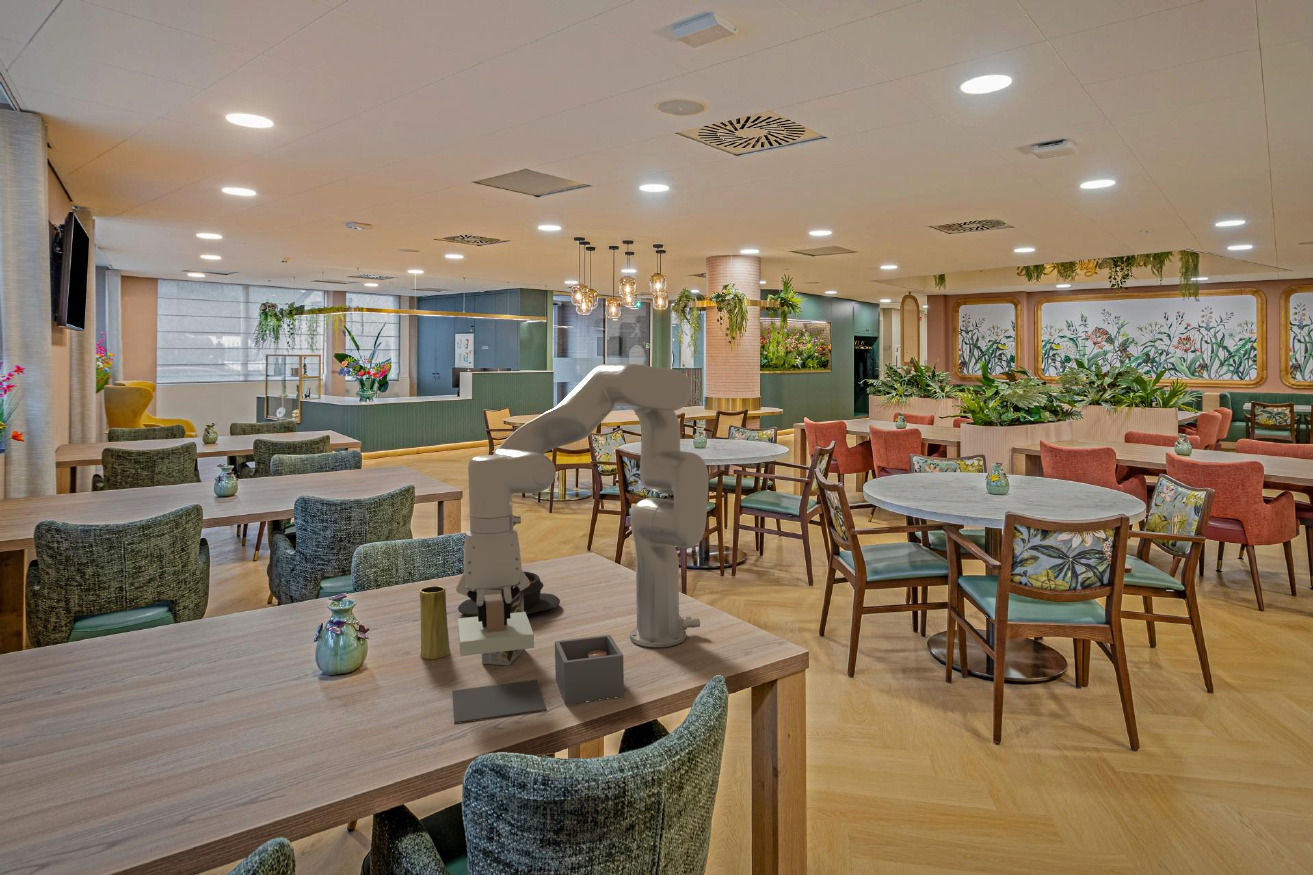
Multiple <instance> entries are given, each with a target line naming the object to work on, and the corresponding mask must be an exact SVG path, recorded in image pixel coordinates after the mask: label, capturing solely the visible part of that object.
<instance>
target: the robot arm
mask: <svg viewBox="0 0 1313 875" xmlns="http://www.w3.org/2000/svg"><path fill="white" fill-rule="evenodd" d="M691 395H692V385H691V382H690V379H689V377H687V375H686V374H685V373H683V371H680V370H678V369H672V368H667V367H666V368H665V367H659V366H658V367H656V366H650V365H643V364H637V363H636V364H635V363H605V364H603V363H602V364H600V365H598V366H596V367H594V368H593V369H592V370H590V372H589V373H588V374H587V375H585V377H584V378H583V379H582V380H581V381H580V382H579V383H578V384H577V385H576V386H575V387H574V388H573V389H572V390H571V391H570V392H569V393H568V394H567V395H566V396H565V397H564V398H563V399H562V400H561V401H560V402H559V403H558V404H557V405H556V406H554V407H553V408H552V409H550V410H547V411H545V412H543V413H542V414H540V415H539V416H537V417H535V418H534V419H532V420H530V421H528V422H526V423H525V424H523V425H522V426H520V427H519V428H517V429H516V430H514V431H513V432H512V433H511V434H510V435H509V436H508V437H507V438H506V439H505V440H504V441H503V442H502V443H501V444H500V445H499V446H498V447H497V448H496V449H495V451H494V452H493V453H492V454H487V455H479V456H474V457H473V458H471V459H470V460H469V462H468V466H467V467H468V469H467V470H468V471H467V472H468V473H467V474H468V500H469V501H468V502H469V530H468V531H466V533H465V536H464V544H463V572H462V575H461V576H460V577H461V578H460V579H459V581H458V583H457V585H456V587H455V591H456V593H458V594H460V595H463V596H465V597H468V598H469V599H471V600H473V601H474V602H475V603H476V604H477V605H478V616H477V617H478V622H481V621H482V625H483V627H486V626H487V624H486V604H485V600H484V589H486V588H498V587H503V593H504V596H503V599H502V600H503V603H504V625H507V619H510V603H511V602H512V599H513V598H514V597H515V596H516V595H517V594H518V593H519V592H520V591H521V590H523V589H525V588H527V587H528V586H529V585H530V582H529V580H528V579H527V577H526V575H525V574H524V572H523V571H524V570H523V569H522V557H521V554H522V553H521V548H520V540H519V535H518V531H517V529H516V528H514V527H515V526H516V525H519V524H521V523H522V518H521V515H520V516H519V515H518V516H517V515H515V514H513V495H514V494H538V493H541V492H543V491H545V490H547V489H549V487H551V485H552V484H553V483H554V480H555V479H556V466H555V464H554V461H552V459H551V458H549V457H548V456H547V455H546V454H545V453H546V452H547V453H548V452H549V451H551V450H554V449H556V448H559V447H563V446H566V445H567V446H568V445H570V444H573V443H577V442H580V441H583V440H584V439H586V438H588V437H589V436H590V435H591V434H592V433H593V432H594V431H595V429H597V427H598V426H599V425H600V424H601V423H602V422H603V421H604V420H605V418H606V417H608V415H609V414H611V412H612V411H613V410H614V409H615V408H617V407H630V408H631V409H632V410H633V412H634V414H635V415H636V417H637V418H638V421H639V423H640V427H641V445H640V446H641V447H640V448H641V450H640V460H639V461H640V463H639V464H640V465H639V466H640V467H639V477H640V478H639V479H640V482H641V484H642V487H644V488H645V489H646V490H649V491H651V492H655V493H660V494H667V495H671V496H672V495H673V500H672V499H666V498H659V497H646V498H643V499H641V500H639V501H638V502H637V503H636V504H635V505H634V507H633V508H632V511H631V513H630V521H629V522H630V528H631V534H632V538H633V544H634V550H635V594H636V595H635V597H636V598H635V599H636V602H635V603H636V627H634V628H633V629H631V631H630V632H629V638H630V640H631V641H632V642H633V643H634V644H636V645H639V646H642V647H648V648H668V647H674V646H677V645H680V644H681V643H683V642H684V641H685V640H686V638H687V631H686V630H688V628H690V629H691V628H700V627H701V620H700V618H692V617H691V616H684V617H682V616H680V588H679V586H680V580H679V579H680V576H679V575H680V573H679V572H680V571H679V570H680V567H679V566H680V564H679V563H680V562H679V561H680V560H679V557H678V552H677V549H676V548H682V549H690V548H691V549H692V548H694V547H695V546H697V545H698V544H699V543H700V542H702V541H701V540H702V539H703V537H704V535H705V531H706V525H707V518H708V517H707V512H708V500H709V498H708V496H709V478H710V477H709V471H708V467H707V464H706V462H705V461H704V459H703V458H702V457H701V456H700V455H699V454H697V453H694V452H690V451H682V450H681V426H680V420H679V418H678V415H677V413H676V411H678V410H680V409H682V408H684V407H685V406H686V405H687V404H688V402H689V401H690V398H691ZM510 586H513V587H512V588H510ZM474 589H476V592H475V591H474Z"/></svg>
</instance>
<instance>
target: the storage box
mask: <svg viewBox="0 0 1313 875" xmlns="http://www.w3.org/2000/svg"><path fill="white" fill-rule="evenodd" d="M554 662H555V665H554V669H555V683H556V682H557V683H556V685H557V688H558V690H559V692H560V696H561V695H562V696H561V698H562V701H563V700H564V701H563V703H564V706H568V705H567V704H570V705H576V704H582V703H583V702H584V703H587V702H586V701H591V702H596V701H595V700H598V701H600V700H599V699H605V700H608V699H607V698H612V699H616V698H615V697H619V698H624V697H625V680H624V678H625V677H624V670H625V669H624V668H625V667H624V654H623V652H622V651H621V649H620V648H619V646H618V645H617V644H616V642H615V640H614V639H613V637H612V636H611V634H604V635H595V636H587V637H580V638H569V639H561V640H555V641H554ZM584 703H583V704H584Z"/></svg>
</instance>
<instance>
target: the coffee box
mask: <svg viewBox="0 0 1313 875" xmlns="http://www.w3.org/2000/svg"><path fill="white" fill-rule="evenodd" d="M512 587H513V586H510V588H512ZM493 594H501V596H502V599H503V596H504V593H503V587H498V588H486V589H484V595H493ZM518 612H524V599H523V590H521V591H520V592H519V593H518V594H517V595H516V596H515V597H514V598H513V599H512V602H511V603H510V613H518ZM525 650H526V649H520V650H511V651H502V652H493V653H484V654H481V664H487V665H500V666H511V665H512V663H514V661H515V660H516V659H517V658H518V657H520V655H521V654H522V653H523V652H524V651H525Z"/></svg>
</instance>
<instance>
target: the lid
mask: <svg viewBox="0 0 1313 875" xmlns="http://www.w3.org/2000/svg"><path fill="white" fill-rule="evenodd" d="M484 600H485V604H486V624H487V626H486V627H483V625H482V621H481V622H478V616H471V617H459V618H457V633H458V642H459V643H458V644H459V646H458V647H459V653H460V657H463V656H474V655H482V654H484V653H493V652H502V651H511V650H520V649H525V650H527V649H535V634H534V632H533V629H532V626H531V623H530V620H529V618H528V616H527V615H526V612H518V613H510V619H507V625H504V603H503V600H502V596H501V594H493V595H484Z"/></svg>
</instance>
